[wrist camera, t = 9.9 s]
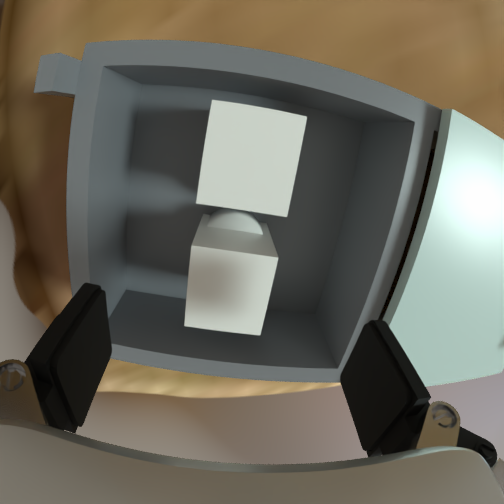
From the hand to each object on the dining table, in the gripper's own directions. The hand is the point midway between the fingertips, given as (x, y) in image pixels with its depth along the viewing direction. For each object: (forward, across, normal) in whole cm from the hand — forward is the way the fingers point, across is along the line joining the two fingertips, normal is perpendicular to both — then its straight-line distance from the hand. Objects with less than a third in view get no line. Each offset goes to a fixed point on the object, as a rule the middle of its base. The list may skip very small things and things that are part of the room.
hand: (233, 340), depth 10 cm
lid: (+4, -16, -2) cm, 17 cm away
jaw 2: (+10, 0, +1) cm, 10 cm away
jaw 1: (+10, 0, -5) cm, 11 cm away
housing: (+11, -7, -2) cm, 14 cm away
